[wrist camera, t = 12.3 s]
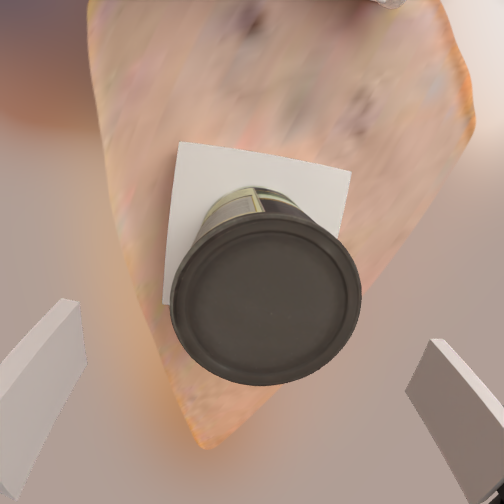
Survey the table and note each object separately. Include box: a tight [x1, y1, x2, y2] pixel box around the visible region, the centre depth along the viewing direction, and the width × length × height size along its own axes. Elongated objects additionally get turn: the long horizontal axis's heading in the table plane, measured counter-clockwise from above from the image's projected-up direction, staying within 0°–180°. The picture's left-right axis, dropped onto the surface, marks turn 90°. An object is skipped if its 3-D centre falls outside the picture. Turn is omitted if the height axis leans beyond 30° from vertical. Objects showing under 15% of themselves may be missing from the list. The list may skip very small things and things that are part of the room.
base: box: [162, 141, 352, 305], centre depth 32 cm, size 16×16×5 cm
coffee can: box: [170, 186, 362, 386], centre depth 23 cm, size 10×10×14 cm
